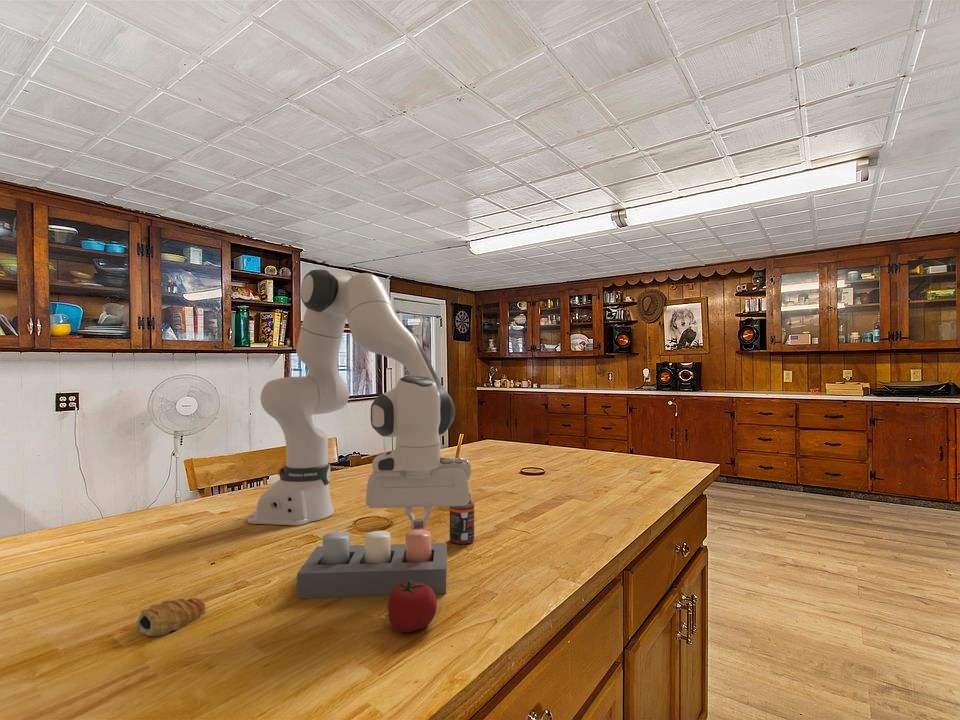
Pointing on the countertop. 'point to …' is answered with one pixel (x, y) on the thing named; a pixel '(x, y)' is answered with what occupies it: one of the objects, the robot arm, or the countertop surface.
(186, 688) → the countertop surface
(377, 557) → the ivory button
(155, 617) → the pastry
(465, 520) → the supplement bottle
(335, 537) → the slate button
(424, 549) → the pink rounded block
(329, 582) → the egg tray
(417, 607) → the tomato
